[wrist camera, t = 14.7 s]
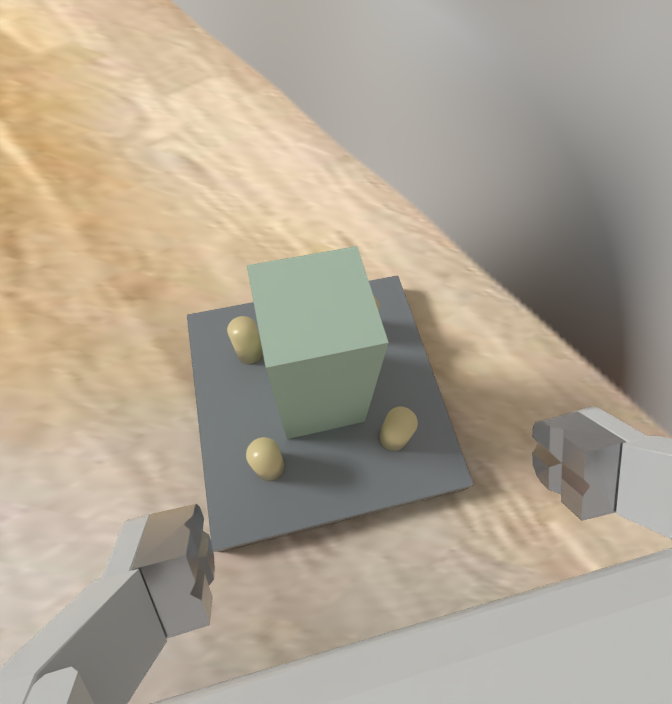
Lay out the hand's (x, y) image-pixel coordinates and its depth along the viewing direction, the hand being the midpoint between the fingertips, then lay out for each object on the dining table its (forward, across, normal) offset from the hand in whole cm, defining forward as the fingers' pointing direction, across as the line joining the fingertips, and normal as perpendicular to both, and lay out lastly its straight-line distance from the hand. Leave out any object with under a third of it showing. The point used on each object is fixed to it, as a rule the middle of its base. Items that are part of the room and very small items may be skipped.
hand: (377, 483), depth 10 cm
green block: (+15, 0, +4) cm, 15 cm away
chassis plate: (+16, 0, +5) cm, 17 cm away
